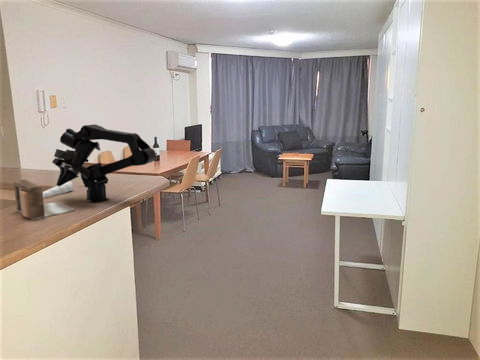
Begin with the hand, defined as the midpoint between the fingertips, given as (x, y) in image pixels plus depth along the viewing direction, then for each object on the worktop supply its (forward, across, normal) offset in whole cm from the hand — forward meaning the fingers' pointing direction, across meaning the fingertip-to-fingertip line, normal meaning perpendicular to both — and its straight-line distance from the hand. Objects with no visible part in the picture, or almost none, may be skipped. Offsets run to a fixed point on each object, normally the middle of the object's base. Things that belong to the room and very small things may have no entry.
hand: (57, 185), depth 148 cm
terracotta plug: (+14, +6, -4) cm, 16 cm away
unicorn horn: (+4, -16, +10) cm, 19 cm away
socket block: (+10, +3, +1) cm, 11 cm away
